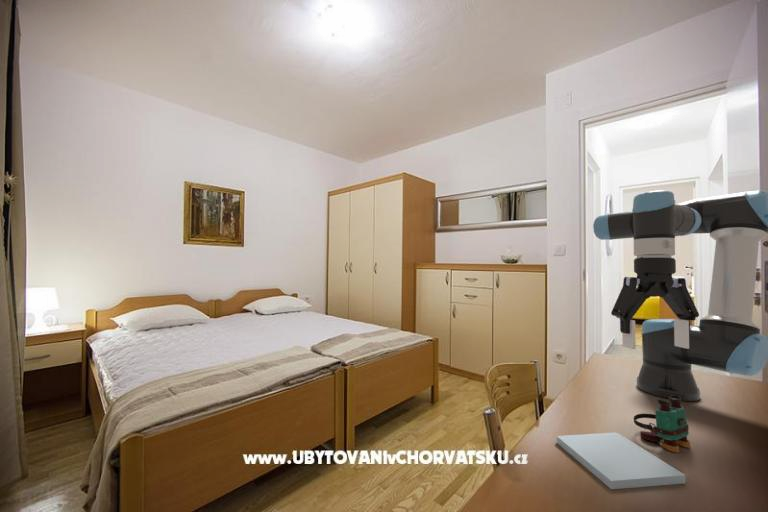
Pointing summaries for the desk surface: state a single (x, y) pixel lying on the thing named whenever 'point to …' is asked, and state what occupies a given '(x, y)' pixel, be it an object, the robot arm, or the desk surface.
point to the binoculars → (667, 424)
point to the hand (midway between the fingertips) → (655, 347)
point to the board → (619, 461)
